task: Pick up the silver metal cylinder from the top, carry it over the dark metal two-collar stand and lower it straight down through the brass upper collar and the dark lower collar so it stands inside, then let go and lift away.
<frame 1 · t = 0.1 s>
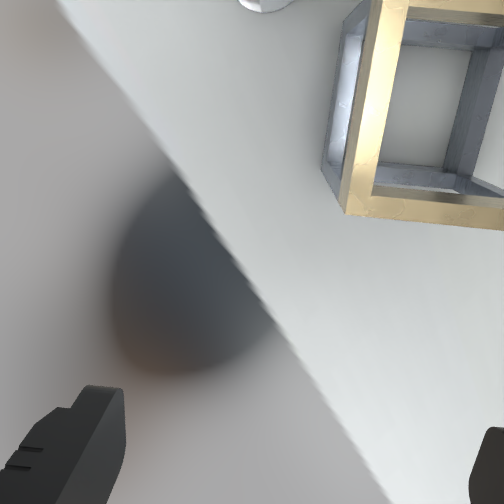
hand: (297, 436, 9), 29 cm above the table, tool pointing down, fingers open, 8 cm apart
collar stand: (401, 106, 34), on the table
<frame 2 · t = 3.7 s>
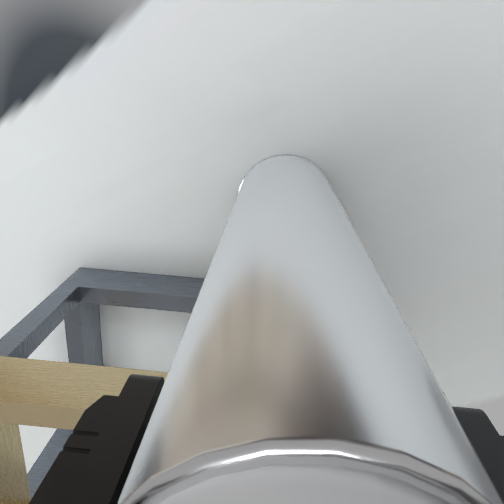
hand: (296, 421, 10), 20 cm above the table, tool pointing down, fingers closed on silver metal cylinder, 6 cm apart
collar stand: (156, 339, 33), on the table
silver metal cylinder: (284, 201, 29), on the table, touching gripper
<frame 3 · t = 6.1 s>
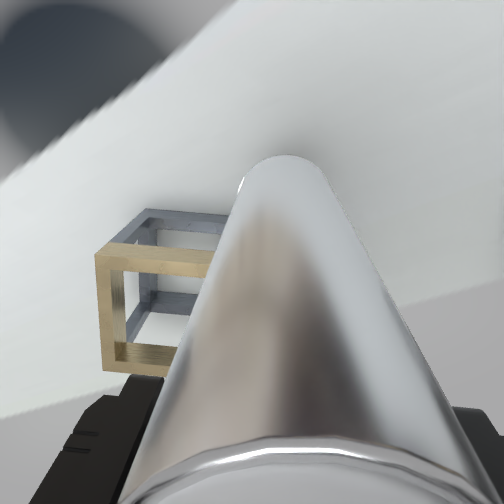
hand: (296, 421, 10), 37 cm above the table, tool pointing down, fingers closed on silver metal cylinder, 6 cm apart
collar stand: (194, 259, 49), on the table
silver metal cylinder: (284, 201, 29), point 16 cm above the table, touching gripper
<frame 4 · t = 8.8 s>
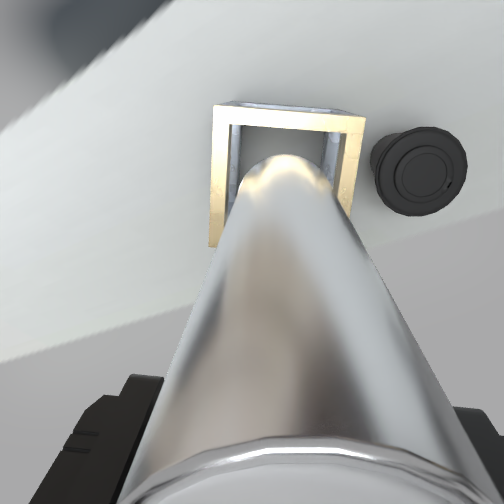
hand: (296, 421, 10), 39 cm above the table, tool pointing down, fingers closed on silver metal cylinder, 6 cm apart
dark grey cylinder: (394, 158, 46), on the table
collar stand: (280, 159, 46), on the table
silver metal cylinder: (284, 201, 29), point 19 cm above the table, touching gripper
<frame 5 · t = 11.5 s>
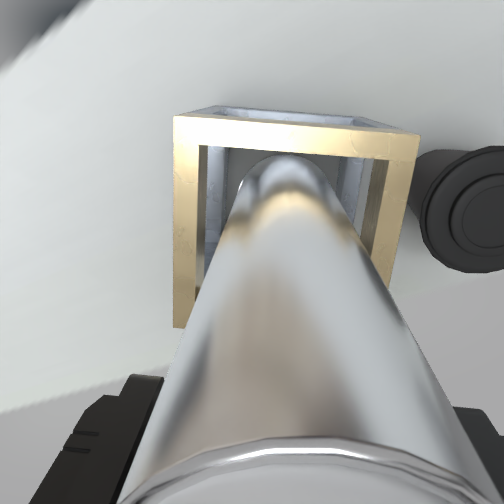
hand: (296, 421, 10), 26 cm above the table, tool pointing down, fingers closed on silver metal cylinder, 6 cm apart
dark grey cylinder: (435, 182, 34), on the table
collar stand: (281, 184, 34), on the table
silver metal cylinder: (284, 201, 29), point 6 cm above the table, touching gripper
when the fingers open (22 cm above the table, at t = 13.9 s): silver metal cylinder drops 1 cm, resting in collar stand.
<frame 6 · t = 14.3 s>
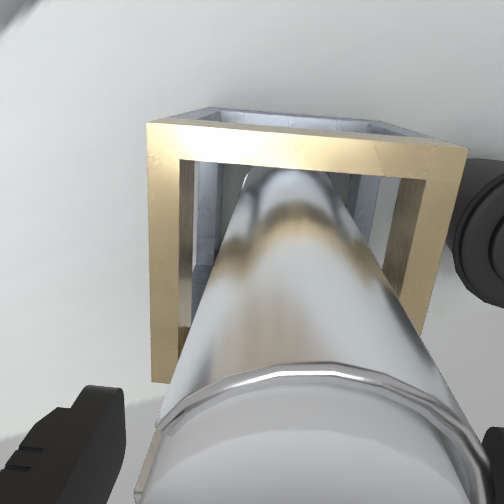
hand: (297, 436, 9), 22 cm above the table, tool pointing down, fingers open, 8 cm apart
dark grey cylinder: (462, 196, 29), on the table
collar stand: (284, 197, 30), on the table
silver metal cylinder: (286, 196, 30), resting in collar stand
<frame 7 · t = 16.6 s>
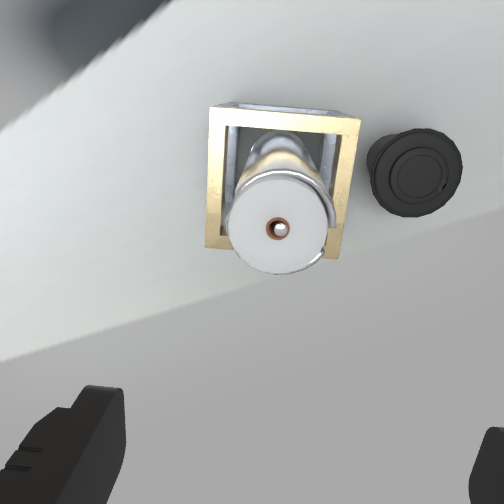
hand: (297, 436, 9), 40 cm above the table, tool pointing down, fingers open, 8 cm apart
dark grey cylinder: (390, 159, 46), on the table
collar stand: (277, 160, 46), on the table
silver metal cylinder: (278, 159, 47), resting in collar stand
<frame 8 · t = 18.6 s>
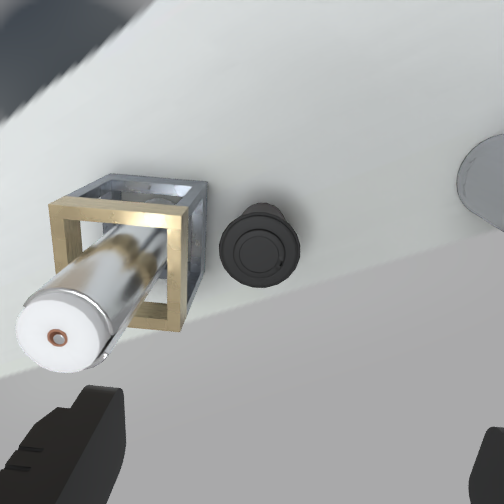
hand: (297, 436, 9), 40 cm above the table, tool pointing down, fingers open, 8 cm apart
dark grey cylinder: (262, 224, 50), on the table
collar stand: (159, 224, 50), on the table
silver metal cylinder: (160, 223, 50), resting in collar stand
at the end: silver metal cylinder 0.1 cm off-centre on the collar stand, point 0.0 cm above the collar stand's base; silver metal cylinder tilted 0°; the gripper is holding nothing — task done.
